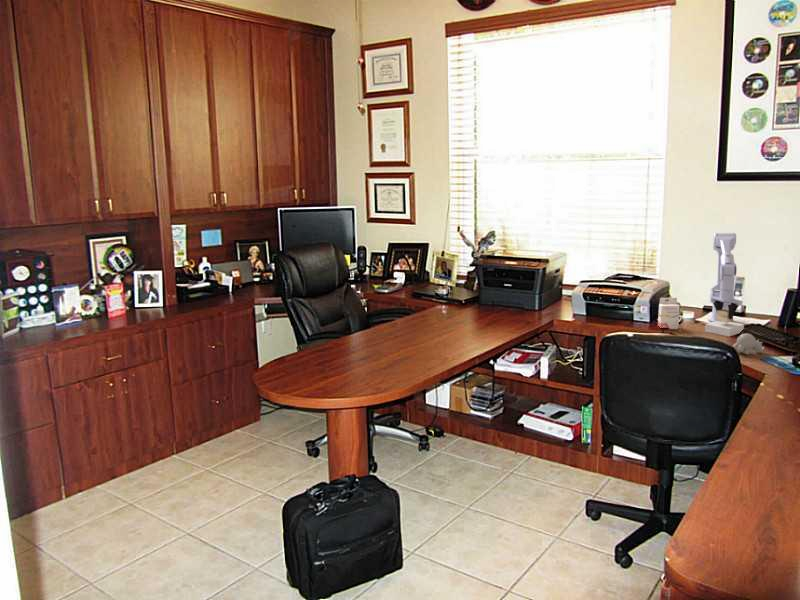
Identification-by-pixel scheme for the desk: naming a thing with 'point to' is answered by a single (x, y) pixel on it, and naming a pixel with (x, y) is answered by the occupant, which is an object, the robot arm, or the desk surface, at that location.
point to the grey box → (724, 328)
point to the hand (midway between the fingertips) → (725, 317)
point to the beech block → (723, 316)
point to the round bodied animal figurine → (748, 344)
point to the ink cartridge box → (668, 313)
